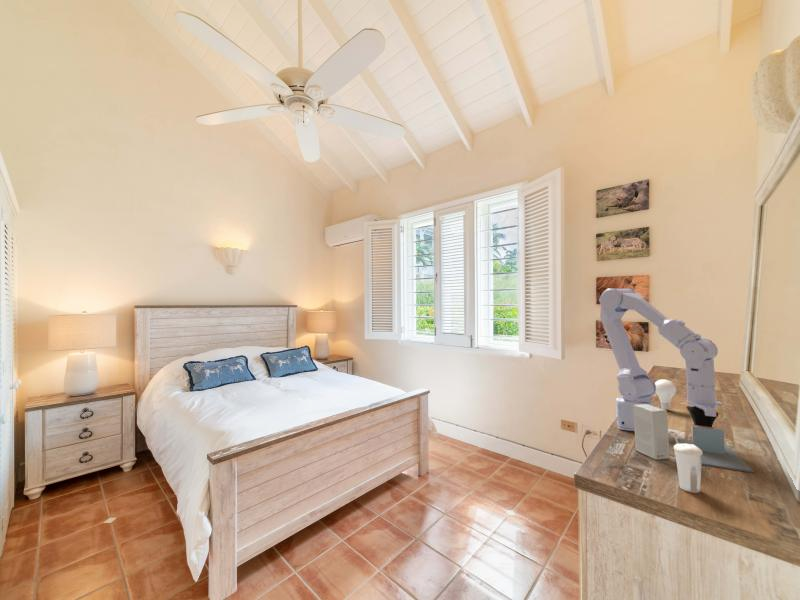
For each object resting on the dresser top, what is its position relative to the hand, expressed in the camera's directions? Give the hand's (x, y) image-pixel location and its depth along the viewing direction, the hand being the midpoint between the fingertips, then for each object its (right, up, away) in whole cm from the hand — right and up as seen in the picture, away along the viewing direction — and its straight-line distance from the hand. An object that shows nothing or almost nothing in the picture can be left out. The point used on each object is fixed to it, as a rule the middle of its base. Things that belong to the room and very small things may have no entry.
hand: (703, 435), depth 88 cm
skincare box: (-16, -4, -3) cm, 17 cm away
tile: (-2, -3, -3) cm, 4 cm away
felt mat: (-2, -3, -4) cm, 5 cm away
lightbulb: (+15, -4, +31) cm, 35 cm away
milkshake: (-21, -3, -19) cm, 28 cm away
